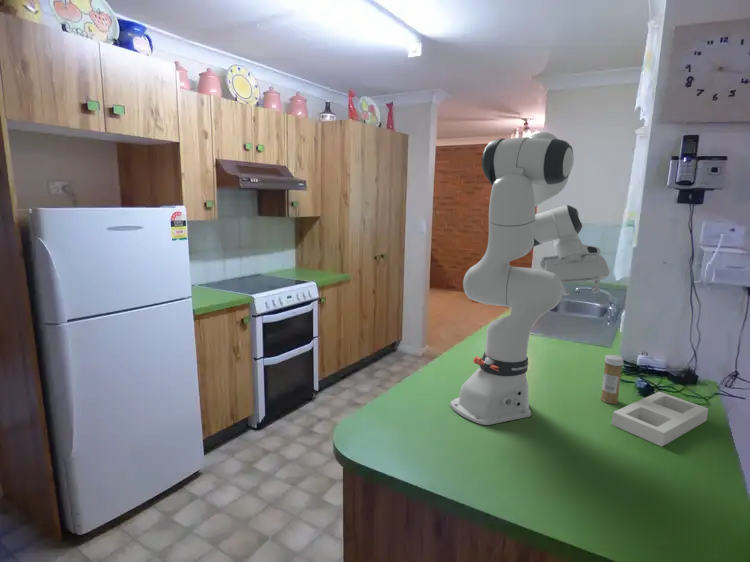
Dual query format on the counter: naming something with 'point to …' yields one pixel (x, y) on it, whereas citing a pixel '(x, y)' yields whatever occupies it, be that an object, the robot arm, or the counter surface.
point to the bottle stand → (659, 418)
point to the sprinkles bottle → (611, 379)
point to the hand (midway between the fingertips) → (581, 293)
